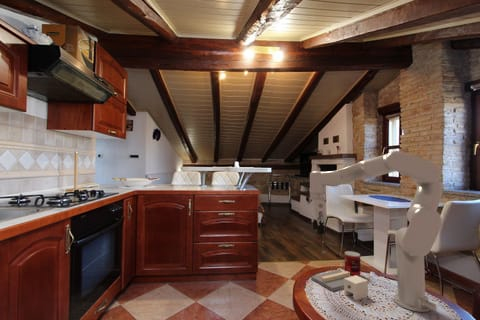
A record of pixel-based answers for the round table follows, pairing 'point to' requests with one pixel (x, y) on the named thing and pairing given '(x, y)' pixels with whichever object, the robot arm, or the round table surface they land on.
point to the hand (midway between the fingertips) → (318, 231)
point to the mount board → (331, 283)
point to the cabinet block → (356, 287)
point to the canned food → (352, 263)
